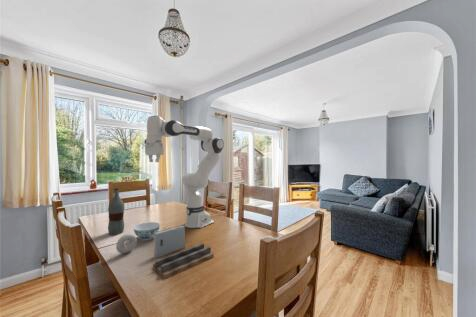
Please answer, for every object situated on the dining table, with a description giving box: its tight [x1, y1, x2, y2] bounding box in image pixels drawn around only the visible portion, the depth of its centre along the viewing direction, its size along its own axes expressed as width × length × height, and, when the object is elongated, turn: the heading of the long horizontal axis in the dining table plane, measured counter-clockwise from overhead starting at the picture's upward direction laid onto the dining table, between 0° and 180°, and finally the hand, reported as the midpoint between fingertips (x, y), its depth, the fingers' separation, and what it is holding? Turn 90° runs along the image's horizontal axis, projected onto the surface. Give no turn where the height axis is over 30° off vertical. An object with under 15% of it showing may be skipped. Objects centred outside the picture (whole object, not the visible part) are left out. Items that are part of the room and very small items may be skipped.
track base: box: [152, 242, 214, 279], centre depth 95 cm, size 26×12×4 cm, turn 136°
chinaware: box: [133, 221, 161, 241], centre depth 123 cm, size 15×15×8 cm
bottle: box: [107, 187, 125, 236], centre depth 132 cm, size 9×9×30 cm
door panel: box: [154, 225, 186, 258], centre depth 106 cm, size 16×3×12 cm, turn 136°
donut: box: [115, 233, 138, 255], centre depth 104 cm, size 10×3×10 cm, turn 142°
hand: (154, 162), depth 126 cm, fingers open, 8 cm apart
